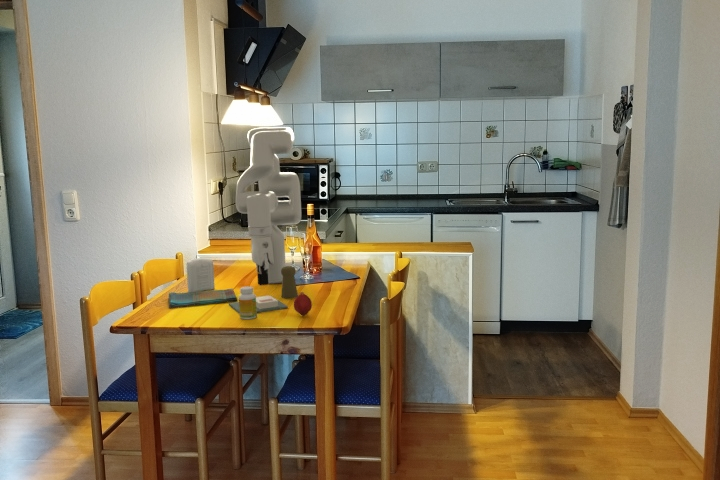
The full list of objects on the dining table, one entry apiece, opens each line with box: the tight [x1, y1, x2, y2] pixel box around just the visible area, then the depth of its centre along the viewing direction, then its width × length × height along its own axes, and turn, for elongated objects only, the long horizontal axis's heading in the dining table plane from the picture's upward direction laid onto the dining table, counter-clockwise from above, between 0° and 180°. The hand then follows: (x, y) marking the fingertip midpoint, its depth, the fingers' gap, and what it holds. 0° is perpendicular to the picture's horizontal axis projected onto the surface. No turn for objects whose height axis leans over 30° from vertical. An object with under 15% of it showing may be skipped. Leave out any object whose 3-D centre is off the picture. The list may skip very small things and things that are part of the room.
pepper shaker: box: [280, 265, 299, 300], centre depth 242 cm, size 6×6×11 cm
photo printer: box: [186, 257, 216, 293], centre depth 255 cm, size 10×4×12 cm, turn 123°
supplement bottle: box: [238, 286, 258, 320], centre depth 217 cm, size 5×5×10 cm
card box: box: [256, 295, 279, 309], centre depth 229 cm, size 6×2×9 cm
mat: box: [228, 296, 289, 315], centre depth 230 cm, size 16×15×1 cm
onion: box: [293, 291, 313, 317], centre depth 217 cm, size 6×6×8 cm
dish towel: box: [168, 288, 238, 309], centre depth 243 cm, size 17×23×2 cm
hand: (263, 284), depth 230 cm, fingers closed
